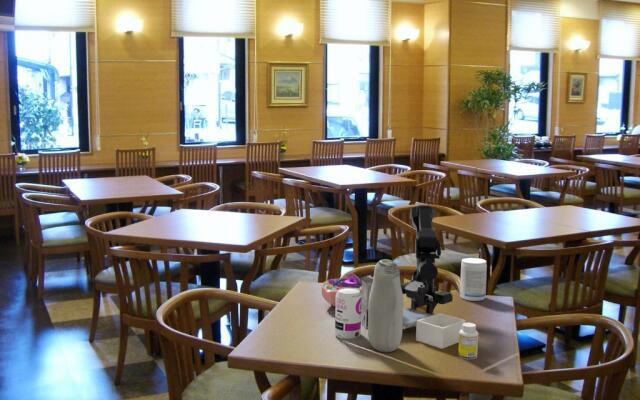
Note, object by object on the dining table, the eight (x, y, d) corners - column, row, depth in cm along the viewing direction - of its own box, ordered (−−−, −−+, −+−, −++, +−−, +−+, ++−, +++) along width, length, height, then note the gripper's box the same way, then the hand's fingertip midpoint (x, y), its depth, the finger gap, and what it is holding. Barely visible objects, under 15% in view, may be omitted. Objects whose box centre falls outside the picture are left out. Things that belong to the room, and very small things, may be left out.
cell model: (309, 305, 262) (310, 275, 260) (350, 296, 274) (351, 267, 273) (341, 317, 249) (341, 285, 247) (382, 307, 262) (383, 276, 260)
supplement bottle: (463, 352, 218) (465, 320, 216) (480, 357, 214) (482, 324, 213) (454, 357, 213) (456, 324, 212) (471, 362, 210) (473, 329, 208)
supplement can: (363, 333, 233) (364, 288, 230) (356, 342, 225) (357, 295, 223) (339, 330, 235) (340, 286, 233) (331, 338, 228) (332, 292, 225)
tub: (415, 342, 226) (416, 320, 225) (438, 333, 235) (439, 312, 233) (442, 350, 219) (443, 328, 218) (464, 341, 228) (465, 320, 227)
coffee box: (385, 321, 246) (387, 275, 243) (391, 327, 239) (393, 280, 237) (359, 322, 243) (361, 276, 241) (365, 329, 237) (367, 281, 235)
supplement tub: (490, 299, 274) (492, 261, 272) (472, 303, 269) (474, 264, 266) (472, 293, 282) (474, 256, 279) (454, 296, 277) (456, 259, 274)
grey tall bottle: (407, 352, 217) (411, 261, 213) (380, 358, 212) (383, 265, 207) (387, 342, 225) (390, 255, 221) (361, 348, 220) (363, 258, 215)
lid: (382, 322, 235) (383, 313, 234) (415, 311, 247) (415, 302, 246) (408, 330, 227) (409, 321, 227) (441, 318, 240) (441, 309, 239)
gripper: (388, 271, 240) (386, 316, 242) (434, 282, 227) (432, 330, 230) (409, 265, 248) (407, 309, 250) (454, 276, 235) (452, 322, 237)
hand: (423, 317), depth 242 cm, fingers closed on lid, 3 cm apart
